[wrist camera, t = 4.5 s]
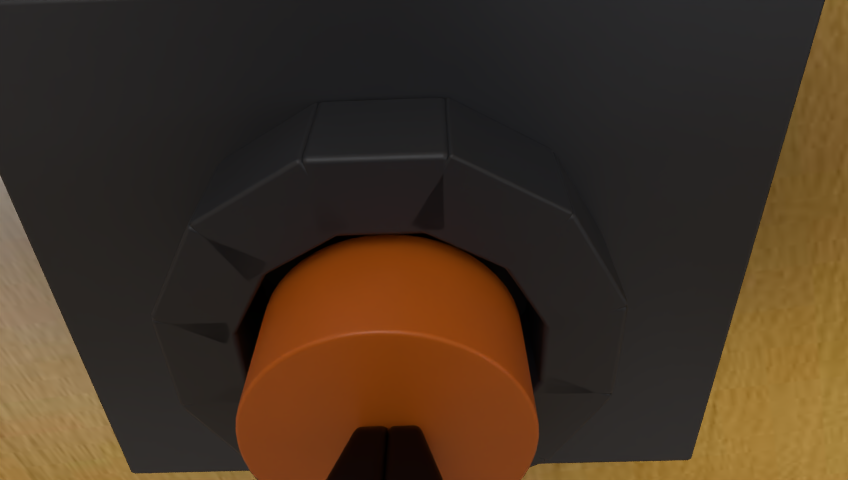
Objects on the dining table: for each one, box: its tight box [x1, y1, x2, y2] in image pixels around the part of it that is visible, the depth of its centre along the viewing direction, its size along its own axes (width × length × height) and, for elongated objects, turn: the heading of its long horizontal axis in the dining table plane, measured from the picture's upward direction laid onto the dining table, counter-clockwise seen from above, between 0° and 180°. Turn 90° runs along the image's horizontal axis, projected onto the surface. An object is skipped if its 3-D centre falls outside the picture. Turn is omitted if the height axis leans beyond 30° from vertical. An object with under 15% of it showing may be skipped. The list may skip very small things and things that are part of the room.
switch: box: [236, 234, 539, 480], centre depth 10 cm, size 4×4×2 cm
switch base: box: [0, 0, 825, 473], centre depth 12 cm, size 12×10×4 cm
